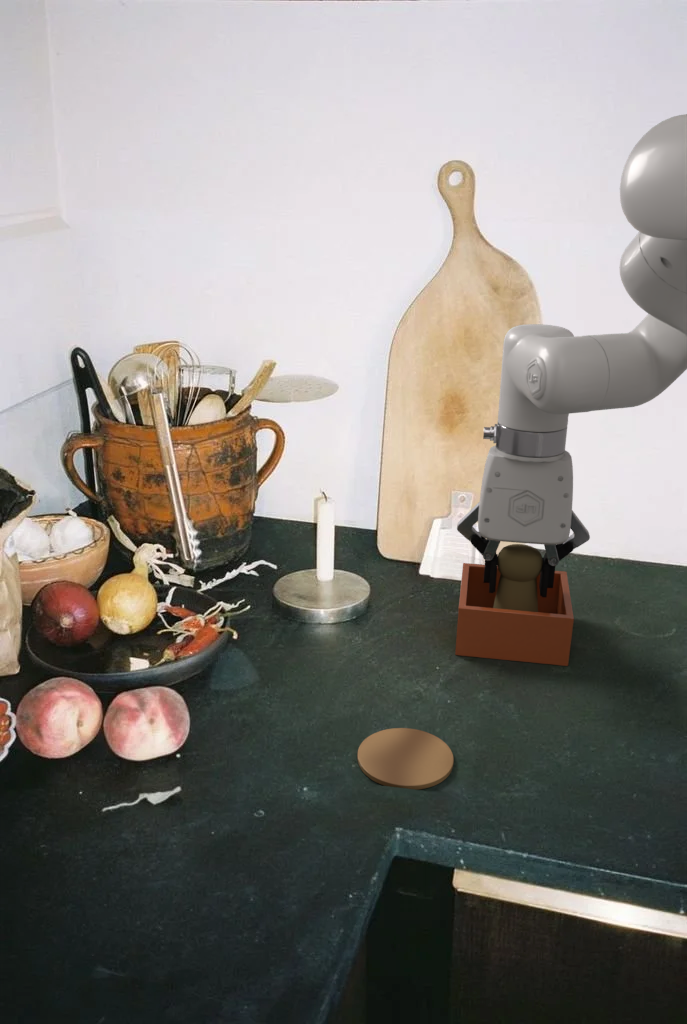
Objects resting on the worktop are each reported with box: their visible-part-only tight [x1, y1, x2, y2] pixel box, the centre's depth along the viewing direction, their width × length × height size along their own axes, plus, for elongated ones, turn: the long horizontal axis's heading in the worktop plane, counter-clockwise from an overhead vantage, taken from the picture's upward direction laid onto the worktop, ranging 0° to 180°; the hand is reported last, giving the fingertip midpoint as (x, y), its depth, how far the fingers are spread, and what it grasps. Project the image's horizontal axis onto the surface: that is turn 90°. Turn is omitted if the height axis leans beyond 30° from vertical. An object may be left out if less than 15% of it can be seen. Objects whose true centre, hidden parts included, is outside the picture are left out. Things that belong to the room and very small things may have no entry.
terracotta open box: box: [454, 562, 575, 667], centre depth 110 cm, size 13×13×6 cm
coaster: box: [356, 727, 454, 791], centre depth 88 cm, size 9×9×1 cm
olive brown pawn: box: [493, 543, 543, 612], centre depth 109 cm, size 6×6×11 cm
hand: (517, 588), depth 109 cm, fingers closed on olive brown pawn, 5 cm apart
